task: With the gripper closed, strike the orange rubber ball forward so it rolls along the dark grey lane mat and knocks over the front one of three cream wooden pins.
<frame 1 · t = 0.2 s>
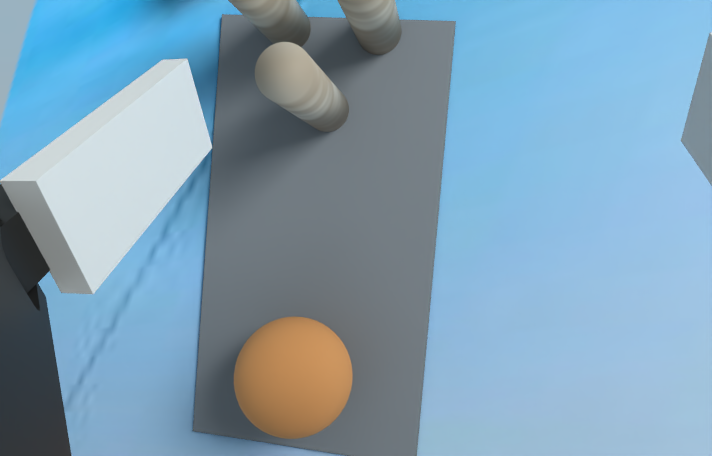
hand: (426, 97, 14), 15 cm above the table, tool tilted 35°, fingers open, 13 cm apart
pin 1: (290, 30, 30), resting on lane mat
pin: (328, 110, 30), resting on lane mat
ball: (293, 375, 28), resting on lane mat
pin 2: (379, 33, 29), resting on lane mat
lane mat: (318, 236, 30), on the table
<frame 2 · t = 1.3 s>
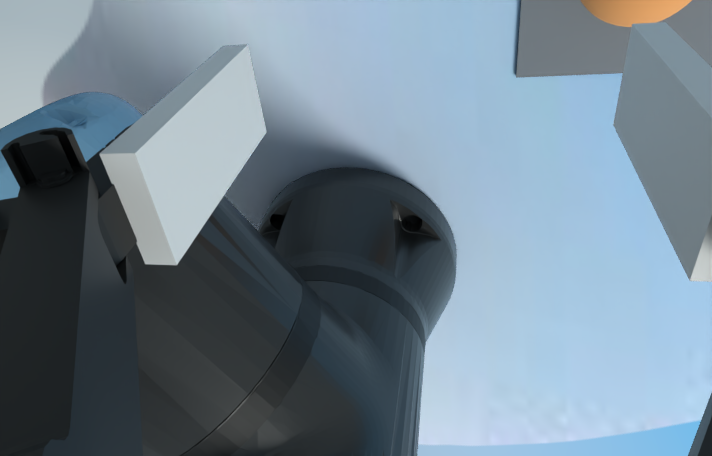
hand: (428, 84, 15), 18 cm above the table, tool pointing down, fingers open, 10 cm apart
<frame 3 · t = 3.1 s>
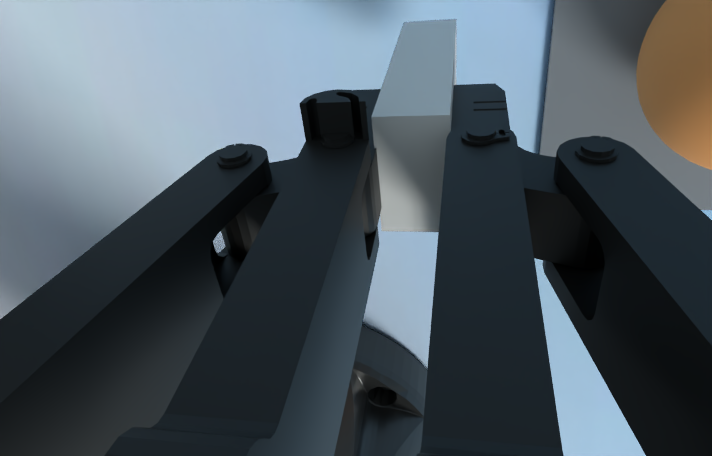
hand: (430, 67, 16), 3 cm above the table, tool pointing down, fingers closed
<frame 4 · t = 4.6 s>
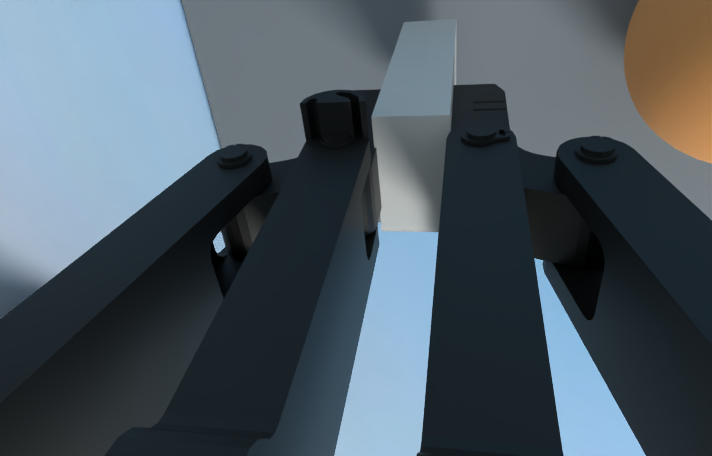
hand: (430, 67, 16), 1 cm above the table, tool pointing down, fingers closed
lane mat: (565, 45, 17), on the table
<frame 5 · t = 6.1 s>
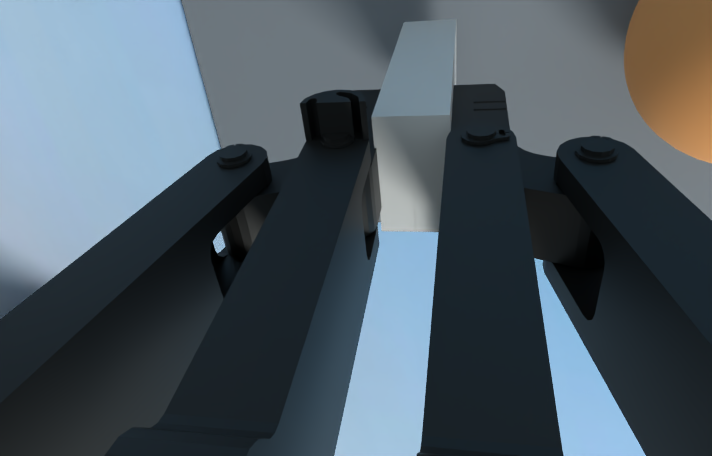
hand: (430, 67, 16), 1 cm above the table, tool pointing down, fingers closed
lane mat: (565, 45, 17), on the table
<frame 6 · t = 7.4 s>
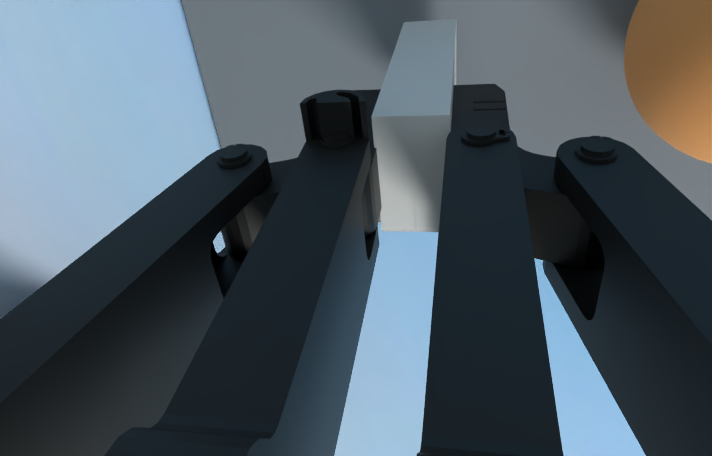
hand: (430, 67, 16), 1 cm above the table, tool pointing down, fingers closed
lane mat: (565, 45, 17), on the table
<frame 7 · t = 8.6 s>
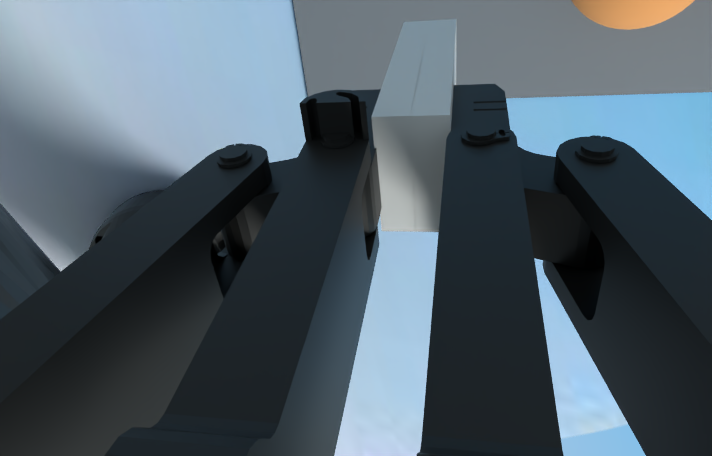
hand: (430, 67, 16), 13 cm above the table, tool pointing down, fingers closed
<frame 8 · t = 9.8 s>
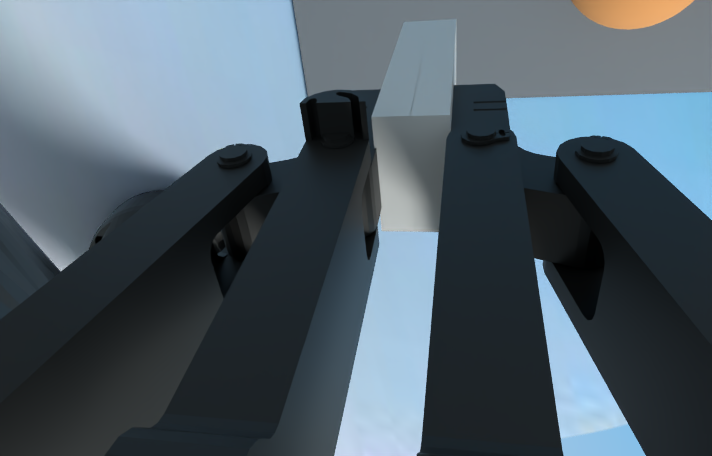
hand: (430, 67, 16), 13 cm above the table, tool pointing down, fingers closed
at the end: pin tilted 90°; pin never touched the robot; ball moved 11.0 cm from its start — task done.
